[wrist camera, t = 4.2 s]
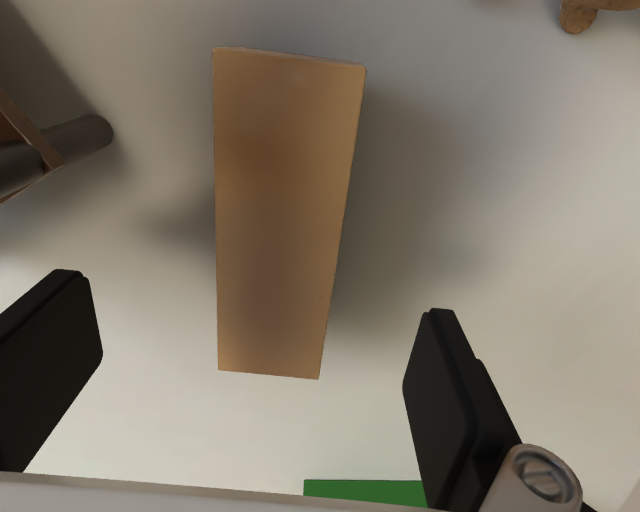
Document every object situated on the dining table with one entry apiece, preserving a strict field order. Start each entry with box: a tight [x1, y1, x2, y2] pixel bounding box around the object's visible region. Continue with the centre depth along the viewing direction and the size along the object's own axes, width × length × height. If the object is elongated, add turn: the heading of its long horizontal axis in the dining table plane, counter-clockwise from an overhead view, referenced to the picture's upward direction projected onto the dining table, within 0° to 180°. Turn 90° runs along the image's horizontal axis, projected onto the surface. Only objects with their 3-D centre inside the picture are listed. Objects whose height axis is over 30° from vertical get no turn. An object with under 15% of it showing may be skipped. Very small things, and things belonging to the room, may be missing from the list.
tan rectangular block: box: [212, 46, 367, 379], centre depth 17 cm, size 5×13×5 cm, turn 174°
